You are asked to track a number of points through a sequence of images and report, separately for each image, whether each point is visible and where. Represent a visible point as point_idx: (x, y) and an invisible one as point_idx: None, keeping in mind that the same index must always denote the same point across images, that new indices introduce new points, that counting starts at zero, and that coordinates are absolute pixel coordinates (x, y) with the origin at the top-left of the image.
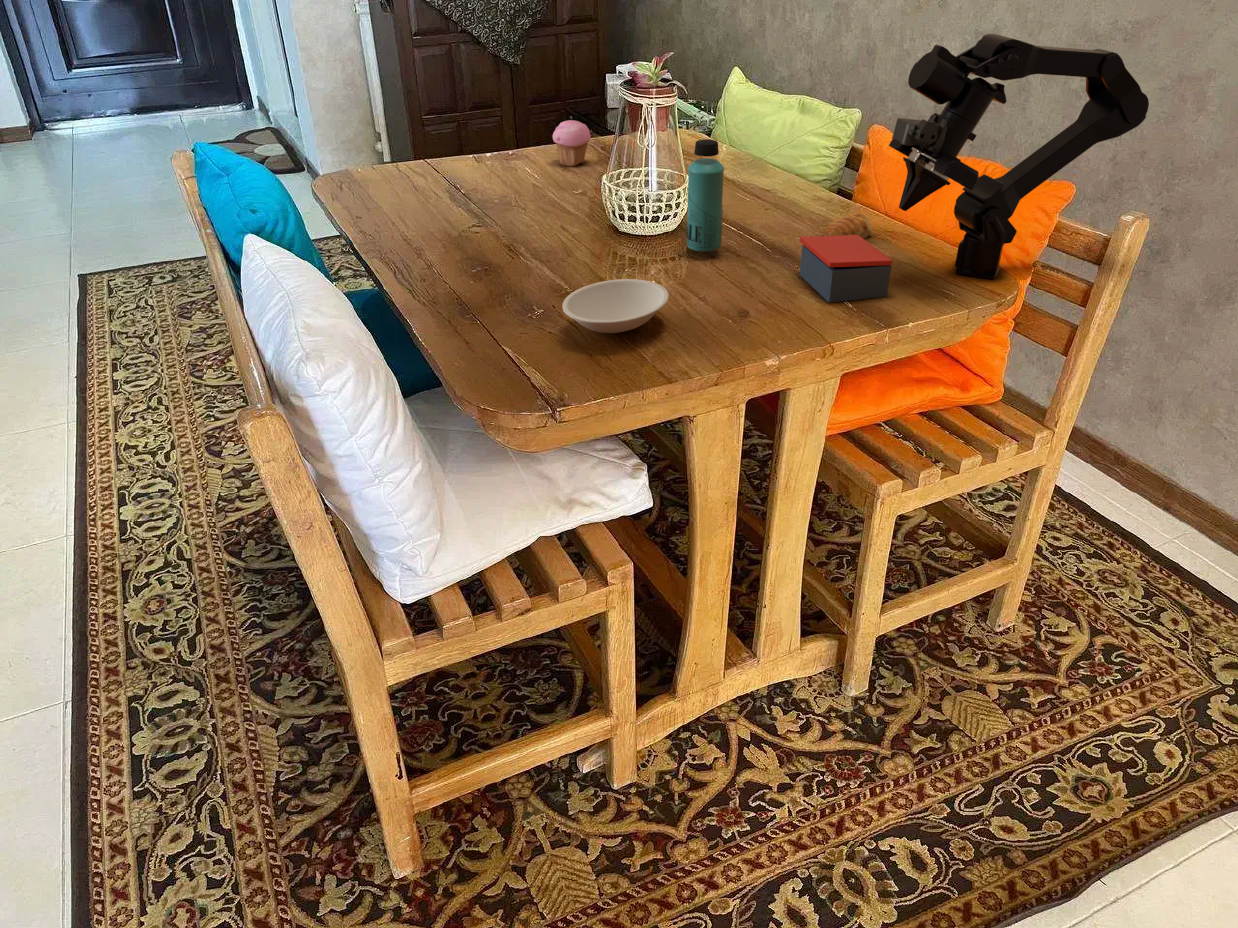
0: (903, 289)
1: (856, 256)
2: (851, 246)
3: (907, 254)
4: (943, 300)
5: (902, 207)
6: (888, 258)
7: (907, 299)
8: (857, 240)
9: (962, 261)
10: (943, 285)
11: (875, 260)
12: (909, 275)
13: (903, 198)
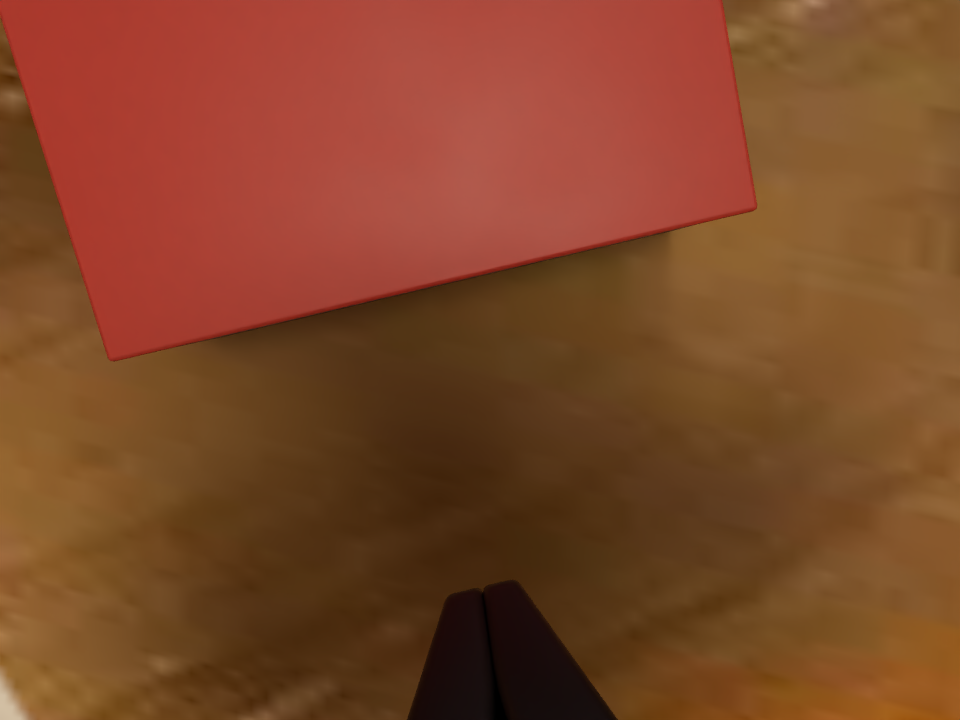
0: (332, 465)
1: (143, 52)
2: (417, 66)
3: (914, 628)
4: (163, 651)
5: (443, 617)
6: (149, 338)
7: (176, 451)
8: (596, 163)
9: None
10: (392, 710)
11: (71, 208)
12: (557, 554)
13: (502, 685)
